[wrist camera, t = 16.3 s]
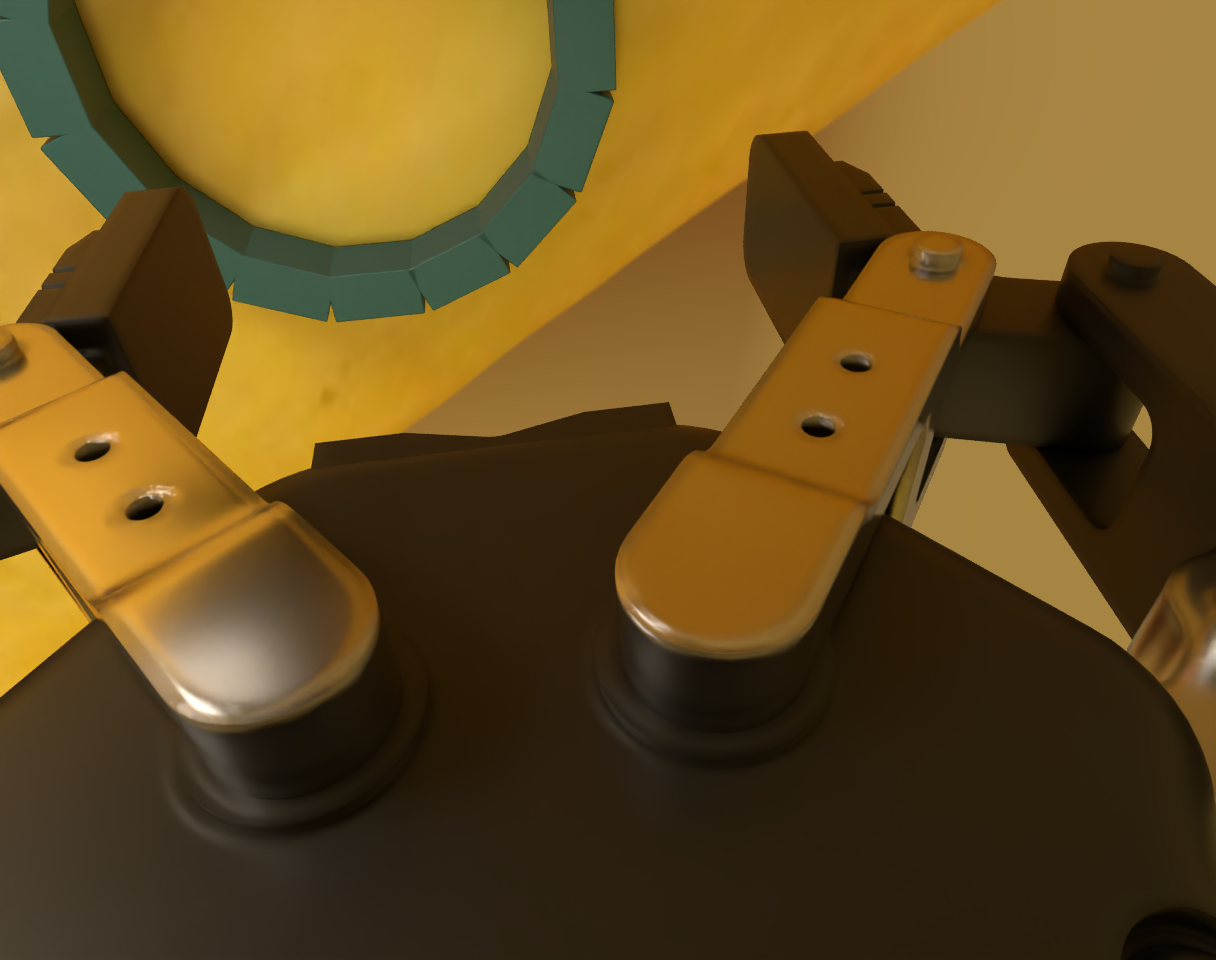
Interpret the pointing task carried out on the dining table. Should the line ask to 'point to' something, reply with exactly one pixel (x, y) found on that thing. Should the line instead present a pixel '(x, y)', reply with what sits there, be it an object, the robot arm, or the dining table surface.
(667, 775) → the robot arm
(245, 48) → the dining table surface
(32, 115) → the ring
